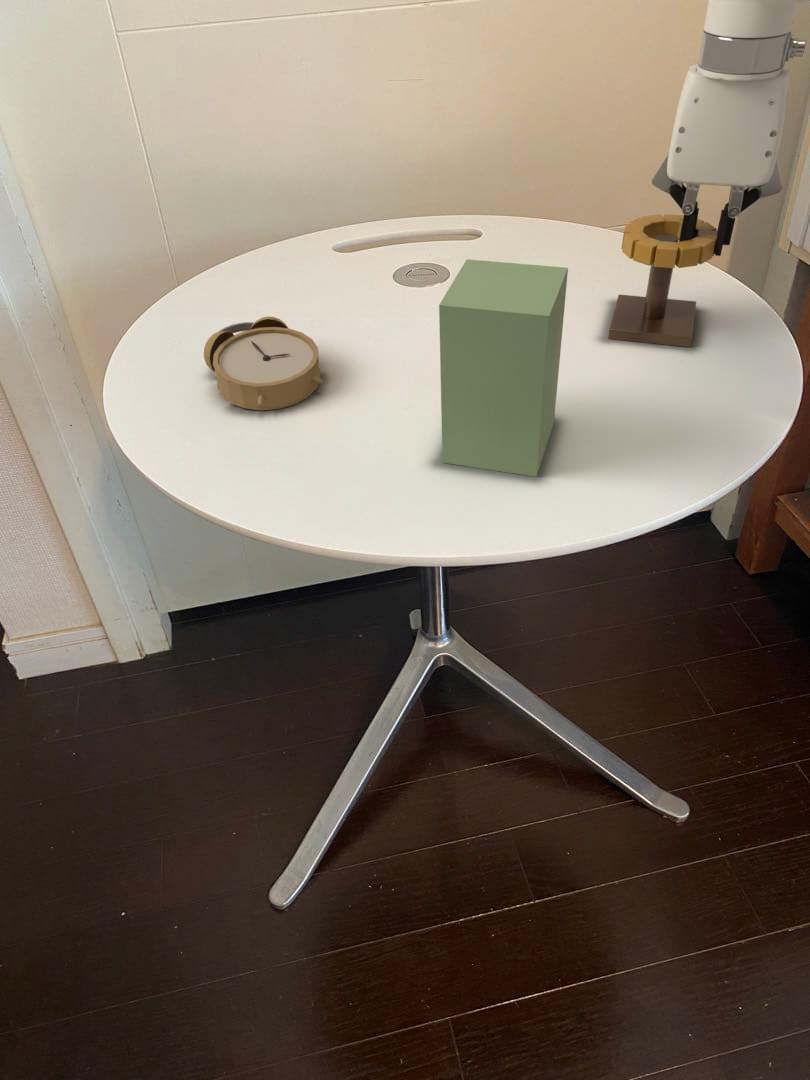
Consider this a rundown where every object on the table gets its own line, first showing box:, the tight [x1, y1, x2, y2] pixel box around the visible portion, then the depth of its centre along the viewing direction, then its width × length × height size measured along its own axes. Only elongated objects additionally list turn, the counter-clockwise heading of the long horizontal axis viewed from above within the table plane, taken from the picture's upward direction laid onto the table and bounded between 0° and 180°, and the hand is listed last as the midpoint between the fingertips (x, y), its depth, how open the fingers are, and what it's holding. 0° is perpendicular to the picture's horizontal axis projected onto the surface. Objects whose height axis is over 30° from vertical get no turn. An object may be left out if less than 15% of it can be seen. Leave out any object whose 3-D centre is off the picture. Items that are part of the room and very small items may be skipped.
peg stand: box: [607, 234, 697, 348], centre depth 90 cm, size 9×9×10 cm
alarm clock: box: [203, 316, 324, 411], centre depth 88 cm, size 11×5×15 cm
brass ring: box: [621, 213, 718, 269], centre depth 87 cm, size 10×10×2 cm
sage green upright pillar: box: [438, 258, 569, 478], centre depth 73 cm, size 9×9×16 cm
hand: (702, 248), depth 87 cm, fingers closed on brass ring, 2 cm apart
